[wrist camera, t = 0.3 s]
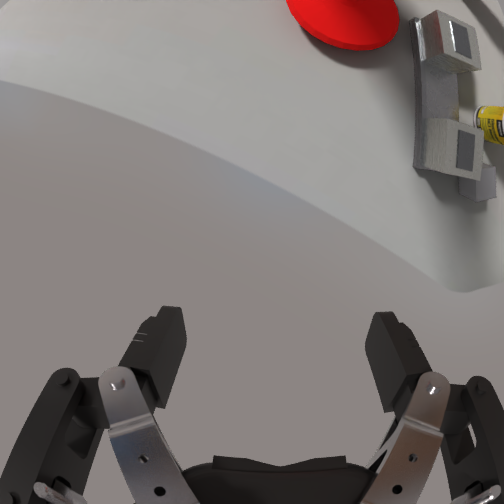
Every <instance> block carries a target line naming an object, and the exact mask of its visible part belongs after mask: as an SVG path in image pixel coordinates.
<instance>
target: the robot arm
mask: <svg viewBox="0 0 504 504" xmlns="http://www.w3.org/2000/svg"><path fill="white" fill-rule="evenodd" d="M186 340H187V337H186V331H185V325H184V320H183V314H182V309H181V308H180V307H173V306H162V307H161V309H160V311H159V312H158V314H157V316H156V317H152V316H151V317H149V318H148V319H147V320H145V321H144V322H143V323H142V324H141V326H140V327H139V329H138V331H137V334H136V335H135V336H134V338H133V341H132V342H131V344H130V345H129V347H128V349H127V351H126V352H125V354H124V356H123V358H122V360H121V361H120V363H119V365H118V366H117V367H112V368H109V369H107V370H106V371H104V372H103V373H102V375H101V376H100V377H97V378H80V376H79V375H78V373H77V372H76V371H75V370H74V369H71V368H62V369H59V370H57V371H56V372H54V373H53V374H52V376H51V377H50V379H49V380H48V382H47V384H46V385H45V387H44V389H43V391H42V392H41V394H40V396H39V398H38V400H37V401H36V403H35V405H34V407H33V409H32V411H31V412H30V414H29V416H28V418H27V420H26V422H25V424H24V426H23V428H22V430H21V432H20V434H19V436H18V438H17V440H16V443H15V445H14V447H13V449H12V452H11V454H10V456H9V459H8V461H7V464H6V466H5V468H4V471H3V473H2V476H1V478H0V504H87V502H86V500H85V499H84V497H83V492H84V489H85V485H86V482H87V478H88V475H89V472H90V469H91V466H92V463H93V460H94V457H95V454H96V451H97V448H98V445H99V442H100V440H101V436H102V434H103V431H104V429H110V430H108V435H109V438H110V441H111V444H112V447H113V450H114V453H115V455H116V458H117V461H118V463H119V466H120V468H121V471H122V473H123V475H124V478H125V480H126V483H127V485H128V487H129V489H130V491H131V494H132V496H133V498H134V500H135V502H136V503H134V504H416V502H417V500H418V498H419V497H420V494H421V492H422V490H423V488H424V486H425V483H426V481H427V479H428V477H429V474H430V472H431V470H432V467H433V464H434V462H435V459H436V457H437V454H438V451H439V448H441V452H442V456H443V460H444V464H445V469H446V473H447V478H448V483H449V488H450V494H451V500H452V502H451V503H450V504H504V410H503V407H502V405H501V403H500V401H499V399H498V396H497V394H496V392H495V390H494V388H493V386H492V385H491V383H490V382H489V381H488V380H487V379H486V378H484V377H481V376H474V377H472V378H470V380H469V381H468V382H467V384H466V385H456V384H450V383H449V381H448V380H447V378H446V377H445V376H443V375H442V374H440V373H437V372H433V371H432V369H431V367H430V365H429V363H428V361H427V359H426V357H425V355H424V353H423V351H422V350H421V347H419V344H418V342H417V340H416V338H415V336H414V334H413V333H412V331H411V329H409V328H408V327H407V326H406V325H405V324H404V323H399V322H398V320H397V318H396V316H395V314H394V313H393V312H376V313H375V314H374V316H373V319H372V323H371V325H370V329H369V332H368V335H367V338H366V342H365V351H366V355H367V357H368V361H369V364H370V366H371V370H372V373H373V376H374V379H375V383H376V386H377V389H378V393H379V395H380V399H381V402H382V406H383V410H384V413H386V412H392V411H394V412H395V417H394V419H393V420H392V422H391V424H390V427H389V428H388V430H387V432H386V434H385V436H384V438H383V440H382V442H381V444H380V445H379V447H378V449H377V451H376V452H375V454H374V456H373V457H372V458H371V460H370V461H369V462H368V464H367V465H366V467H362V466H359V465H356V464H351V463H346V457H345V456H337V457H326V458H314V459H310V460H307V461H303V462H299V463H295V464H291V465H286V466H281V467H280V466H274V465H270V464H266V463H262V462H258V461H254V460H251V459H247V458H233V457H224V456H215V455H214V457H213V462H212V463H205V464H200V465H196V466H193V467H190V468H188V469H186V470H184V471H183V470H182V468H181V466H180V465H179V463H178V461H177V460H176V458H175V456H174V455H173V453H172V451H171V449H170V447H169V445H168V444H167V442H166V440H165V438H164V436H163V434H162V432H161V430H160V428H159V426H158V424H157V422H156V420H155V418H154V416H153V413H154V411H155V408H156V407H158V408H163V409H165V407H166V404H167V401H168V398H169V395H170V392H171V389H172V386H173V383H174V380H175V377H176V374H177V371H178V368H179V366H180V363H181V360H182V357H183V354H184V351H185V348H186V342H187V341H186ZM470 423H471V425H472V428H473V431H474V434H475V437H476V441H477V442H476V447H474V444H473V440H472V437H471V434H470V431H469V428H468V425H470Z"/></svg>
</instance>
